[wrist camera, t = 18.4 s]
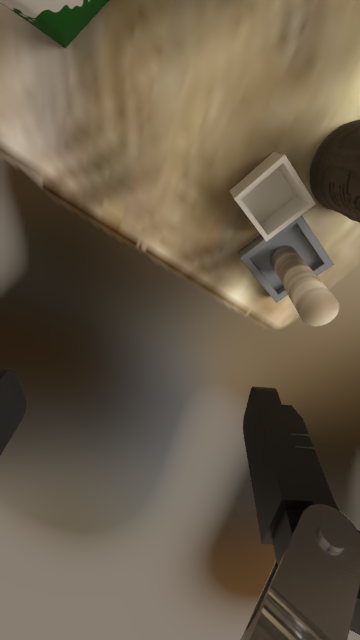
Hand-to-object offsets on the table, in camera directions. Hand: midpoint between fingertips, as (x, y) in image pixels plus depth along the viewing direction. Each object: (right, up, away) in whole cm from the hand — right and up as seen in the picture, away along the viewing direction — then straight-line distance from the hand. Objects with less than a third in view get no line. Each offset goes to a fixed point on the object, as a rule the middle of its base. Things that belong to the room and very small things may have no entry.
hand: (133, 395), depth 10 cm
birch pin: (+18, +12, +35) cm, 41 cm away
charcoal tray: (+18, +13, +36) cm, 42 cm away
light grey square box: (+14, +20, +31) cm, 40 cm away
